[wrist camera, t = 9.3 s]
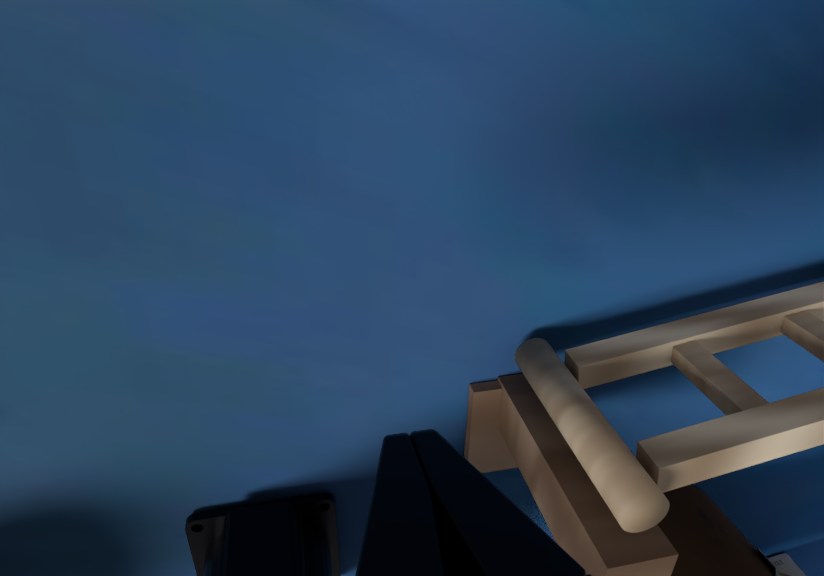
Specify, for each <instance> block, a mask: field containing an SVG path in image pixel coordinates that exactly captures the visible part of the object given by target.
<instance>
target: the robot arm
mask: <svg viewBox="0 0 824 576" xmlns="http://www.w3.org/2000/svg"><path fill="white" fill-rule="evenodd" d="M324 503H326V504H324ZM196 524H200V525H196ZM185 531H186V535H187V539H188V542H189V546H190V550H191V554H192V557H193V561H194V565H195V569H196V572H197V576H340V563H339V550H338V536H337V522H336V509H335V499H334V496H333V495H332V494H330V493H318V494H312V495H306V496H300V497H293V498H287V499H281V500H275V501H268V502H262V503H256V504H250V505H243V506H237V507H231V508H225V509H218V510H212V511H206V512H200V513H195V514H192V515H190V516H189V517H188V518H187V520H186V527H185ZM356 576H592V575H591V574H587V575H586V570H585V569H584V568H583V567H582V566H581V565H580V564H579V563H577V562H576V561H575V560H574V559H573V558H572V557H571V556H570V555H569V554H568V553H567V552H566V551H565V550H563V549H562V548H561V547H560V546H559V545H558V544H557V543H556V542H555V541H554V540H553V539H552V538H551V537H550V536H548V535H547V534H546V533H545V532H544V531H543V530H542V529H541V528H540V527H539V526H538V525H537V524H536V523H534V522H533V521H532V520H531V519H530V518H529V517H528V516H527V515H526V514H525V513H524V512H523V511H522V510H520V509H519V508H518V507H517V506H516V505H515V504H514V503H513V502H512V501H511V500H510V499H509V498H508V497H507V496H505V495H504V494H503V493H502V492H501V491H500V490H499V489H498V488H497V487H496V486H495V485H494V484H493V483H491V482H490V481H489V480H488V479H487V478H486V477H485V476H484V475H483V474H482V473H481V472H480V471H479V470H477V469H476V468H475V467H474V466H473V465H472V464H471V463H470V462H469V461H468V460H467V459H466V458H465V457H464V456H462V455H461V454H460V453H459V452H458V451H457V450H456V449H455V448H454V447H453V446H452V445H451V444H450V443H448V442H447V441H446V440H445V439H444V438H443V437H442V436H441V435H440V434H439V433H438V432H437V431H435V430H433V429H428V430H421V431H414V432H412V433H411V434H410V435H408V434H407V433H400V434H393V435H387V436H385V437H384V439H383V444H382V448H381V453H380V458H379V463H378V468H377V473H376V478H375V483H374V488H373V493H372V497H371V502H370V507H369V512H368V517H367V522H366V527H365V532H364V537H363V541H362V546H361V551H360V556H359V561H358V566H357V571H356Z"/></svg>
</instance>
